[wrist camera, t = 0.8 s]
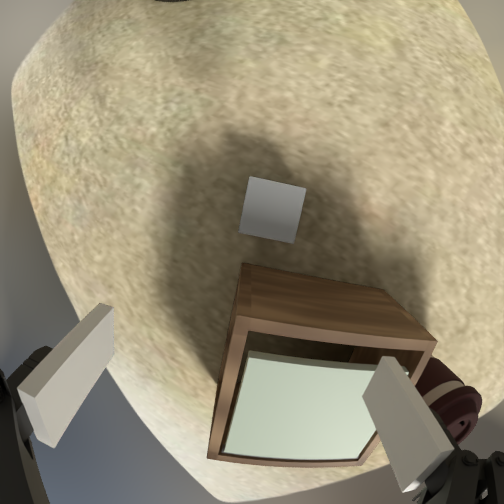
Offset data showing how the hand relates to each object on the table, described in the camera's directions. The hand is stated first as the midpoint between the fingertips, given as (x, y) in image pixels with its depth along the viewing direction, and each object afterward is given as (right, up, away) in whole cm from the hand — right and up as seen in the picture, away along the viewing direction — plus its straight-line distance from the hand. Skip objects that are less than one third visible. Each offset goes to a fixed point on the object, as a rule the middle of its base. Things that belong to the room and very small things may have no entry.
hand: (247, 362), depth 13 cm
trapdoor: (+6, -10, +10) cm, 15 cm away
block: (+2, +10, +17) cm, 20 cm away
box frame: (+6, -6, +21) cm, 23 cm away
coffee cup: (+22, -11, +23) cm, 34 cm away
